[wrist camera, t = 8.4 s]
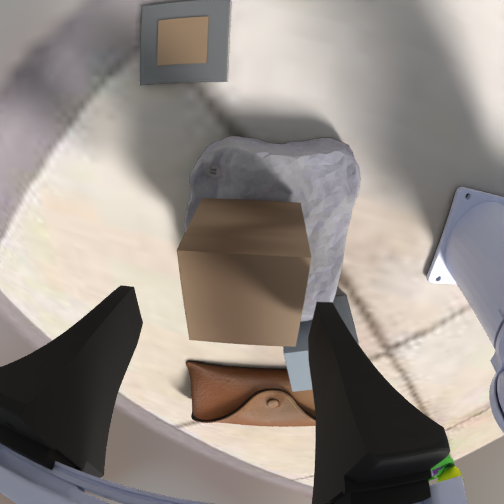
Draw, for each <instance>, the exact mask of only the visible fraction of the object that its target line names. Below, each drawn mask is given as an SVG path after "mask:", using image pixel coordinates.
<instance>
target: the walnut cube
mask: <svg viewBox="0 0 504 504" xmlns="http://www.w3.org/2000/svg"><path fill="white" fill-rule="evenodd" d="M177 256H178V264H179V272H180V280H181V287H182V294H183V301H184V308H185V315H186V321H187V328H188V334H189V340H197V341H208V342H220V343H233V344H248V345H266V346H291V347H296V342H297V337H298V332H299V327H300V321H301V316H302V311H303V305H304V299H305V294H306V288H307V282H308V276H309V270H310V264H311V253H310V247H309V242H308V237H307V232H306V227H305V222H304V217H303V212H302V207H301V203H297V202H281V201H263V200H242V199H216V198H202V199H201V201H200V203H199V205H198V207H197V210H196V212H195V214H194V216H193V218H192V220H191V222H190V224H189V226H188V228H187V230H186V232H185V234H184V236H183V239H182V241H181V243H180V245H179V247H178V249H177Z"/></svg>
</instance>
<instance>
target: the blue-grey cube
mask: <svg viewBox="0 0 504 504" xmlns="http://www.w3.org/2000/svg"><path fill="white" fill-rule="evenodd" d="M333 304H334V305H335V307H336V309H337V311H338V312H339V314H340V316H341V318H342V319H343V321H344V323H345V324H346V326H347V328H348V329H349V331H350V332H351V334H352V336H353V337H354V339H355V340H356V342H357V343H358V345H359V342H358V338H357V334H356V330H355V326H354V322H353V318H352V314H351V310H350V306H349V303H348V299H347V295H342V296H335V298H334V301H333ZM311 324H312V320H310V321H304V322H300V327H299V332H298V337H297V342H296V347H291V346H283V347H284V357H285V362H286V366H287V370H288V374H289V379H290V383H291V387H292V392H296V391H304V390H312V382H311V375H310V367H309V357H308V336H309V332H310V328H311Z"/></svg>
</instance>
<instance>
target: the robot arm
mask: <svg viewBox="0 0 504 504" xmlns="http://www.w3.org/2000/svg"><path fill="white" fill-rule="evenodd" d="M466 194H468V196H467V197H466V198H465V196H466ZM438 276H439V277H438ZM437 277H438V278H437ZM426 278H427V280H428V282H429V283H439V284H457V285H458V287H459V288H460V290H461V291H462V293H463V294H464V296H465V298H466V299H467V301H468V302H469V304H470V306H471V307H472V309H473V311H474V312H475V314H476V316H477V317H478V319H479V321H480V323H481V324H482V326H483V328H484V330H485V332H486V333H487V335H488V337H489V339H490V341H491V343H492V344H493V346H494V348H495V354H494V356H493V357H492V359H491V363H492V365H493V367H494V369H495V371H496V374H495V376H494V378H493V379H492V382H491V385H490V391H489V399H490V406H491V409H492V413H493V415H494V418H495V420H496V422H497V424H498V426H499V427H500V428H501V430H502V431H503V432H504V197H502V196H498V195H494V194H490V193H486V192H482V191H478V190H474V189H469V188H465V187H460V188H458V189H457V190H456V192H455V196H454V199H453V203H452V206H451V209H450V213H449V216H448V219H447V222H446V225H445V228H444V231H443V234H442V237H441V240H440V242H439V245H438V248H437V251H436V253H435V256H434V259H433V261H432V264H431V266H430V269H429V272H428V274H427V277H426ZM142 324H143V322H142V318H141V314H140V310H139V306H138V302H137V298H136V294H135V289H134V287H129V286H120V287H118V288H117V289H116V290H115V291H113V292H112V293H111V294H110V295H109V296H108V297H106V298H105V299H104V300H103V301H102V302H101V303H100V304H98V305H97V306H96V307H95V308H94V309H93V310H91V311H90V312H89V313H88V314H87V315H86V316H84V317H83V318H82V319H81V320H79V321H78V322H77V323H76V324H74V325H73V326H72V327H71V328H69V329H68V330H67V331H66V332H64V333H63V334H61V335H60V336H59V337H57V338H56V339H54V340H53V341H51V342H50V343H48V344H46V345H45V346H43V347H41V348H39V349H38V350H36V351H34V352H33V353H31V354H29V355H27V356H25V357H23V358H21V359H19V360H17V361H14V362H12V363H10V364H8V365H5V366H2V367H0V492H1V493H2V494H4V495H5V496H6V497H8V498H9V499H11V500H12V501H14V502H15V503H17V504H109V503H107V502H106V501H104V500H101V499H98V498H96V497H94V496H91V495H89V494H87V493H85V492H84V491H87V492H90V493H92V494H95V495H98V496H101V497H104V498H107V499H110V500H113V501H117V502H119V503H123V504H213V503H206V502H205V503H204V502H198V501H192V500H186V499H180V498H175V497H170V496H165V495H160V494H156V493H151V492H147V491H143V490H139V489H135V488H131V487H127V486H124V485H121V484H117V483H114V482H111V481H108V480H105V479H101V478H100V477H102V476H103V475H104V465H105V455H106V446H107V440H108V432H109V427H110V422H111V418H112V413H113V409H114V405H115V401H116V397H117V394H118V391H119V388H120V385H121V383H122V380H123V378H124V375H125V373H126V370H127V368H128V365H129V363H130V361H131V358H132V356H133V353H134V351H135V348H136V346H137V343H138V339H139V336H140V332H141V328H142ZM308 357H309V367H310V375H311V382H312V390H313V397H314V405H315V416H316V449H315V473H314V487H313V498H312V504H467V499H466V494H465V488H464V483H463V478H462V476H458V477H454V478H451V479H448V480H445V481H441V482H438V483H435V484H433V485H430V486H429V482H428V479H430V478H431V477H432V474H431V468H433V467H434V466H436V465H437V464H438V463H440V462H441V461H442V460H444V459H445V458H446V457H447V456H448V454H449V452H450V448H449V443H448V439H447V436H446V433H445V430H444V428H443V427H442V426H440V425H439V424H437V423H436V422H434V421H433V420H432V419H430V418H429V417H427V416H426V415H424V414H423V413H422V412H420V411H419V410H418V409H417V408H415V407H414V406H413V405H412V404H411V403H409V402H408V401H407V400H406V399H405V398H404V397H403V396H402V395H401V394H400V393H399V392H398V391H397V390H395V389H394V388H393V387H392V386H391V385H390V383H389V382H388V381H387V380H386V379H385V378H384V377H383V376H382V375H381V373H380V372H379V371H378V370H377V369H376V368H375V366H374V365H373V364H372V363H371V361H370V360H369V359H368V357H367V356H366V355H365V353H364V352H363V350H362V349H361V348H360V346H359V345H358V343H357V342H356V340H355V339H354V337H353V336H352V334H351V332H350V331H349V329H348V328H347V326H346V324H345V323H344V321H343V319H342V318H341V316H340V314H339V312H338V311H337V309H336V307H335V305H334V304H333V303H332V302H316V307H315V311H314V315H313V320H312V324H311V328H310V332H309V336H308Z"/></svg>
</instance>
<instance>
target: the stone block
mask: <svg viewBox="0 0 504 504" xmlns="http://www.w3.org/2000/svg"><path fill="white" fill-rule="evenodd" d="M189 183H190V187H191V195H190V200H189V203H188V206H187V209H186V216H185V222H184V230H185V232H186V230H187V228H188V226H189V224H190V222H191V220H192V218H193V216H194V214H195V212H196V210H197V207H198V205H199V203H200V201H201V199H202V198H216V199H242V200H263V201H281V202H297V203H301V207H302V212H303V217H304V222H305V227H306V232H307V237H308V242H309V247H310V253H311V264H310V270H309V276H308V282H307V288H306V294H305V299H304V305H303V311H302V316H301V321H300V322H304V321H310V320H313V315H314V311H315V307H316V302H332V303H333V301H334V298H335V295H336V291H337V286H338V281H339V278H340V273H341V268H342V263H343V256H344V248H345V241H346V235H347V230H348V225H349V222H350V219H351V213H352V209H353V207H354V204H355V202H356V199H357V197H358V192H359V187H360V170H359V166H358V164H357V162H356V160H355V158H354V155H353V152H352V150H351V149H350V147H349V145H347V144H345V143H343V142H340V141H337V140H335V139H333V138H316V139H310V140H307V141H293V142H287V143H285V144H277V143H268V142H265V141H262V140H260V139H256V138H248V137H247V138H245V137H239V136H230V137H227V138H225V139H223V140H219V141H216V142H214V143H212V144H211V145H209V146H208V147H207V148H206V149H205V151H204V152H203V154H202V155H201V156H200V158H199V159H198V161H197V163H196V164H195V166H194V168H193V170H192V171H191V174H190V179H189Z"/></svg>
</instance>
